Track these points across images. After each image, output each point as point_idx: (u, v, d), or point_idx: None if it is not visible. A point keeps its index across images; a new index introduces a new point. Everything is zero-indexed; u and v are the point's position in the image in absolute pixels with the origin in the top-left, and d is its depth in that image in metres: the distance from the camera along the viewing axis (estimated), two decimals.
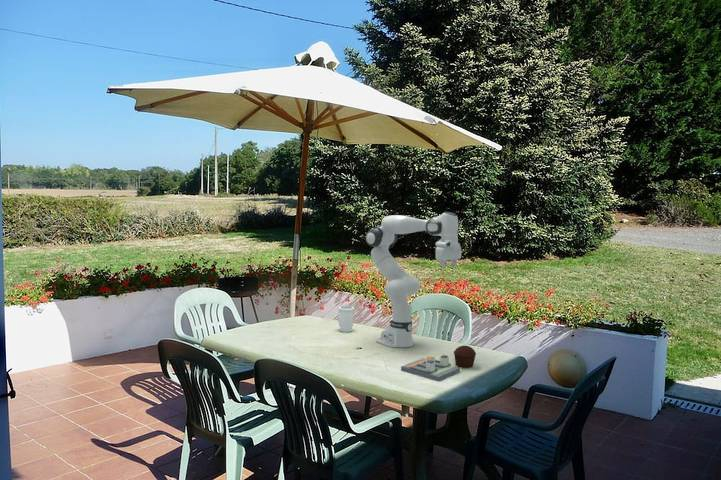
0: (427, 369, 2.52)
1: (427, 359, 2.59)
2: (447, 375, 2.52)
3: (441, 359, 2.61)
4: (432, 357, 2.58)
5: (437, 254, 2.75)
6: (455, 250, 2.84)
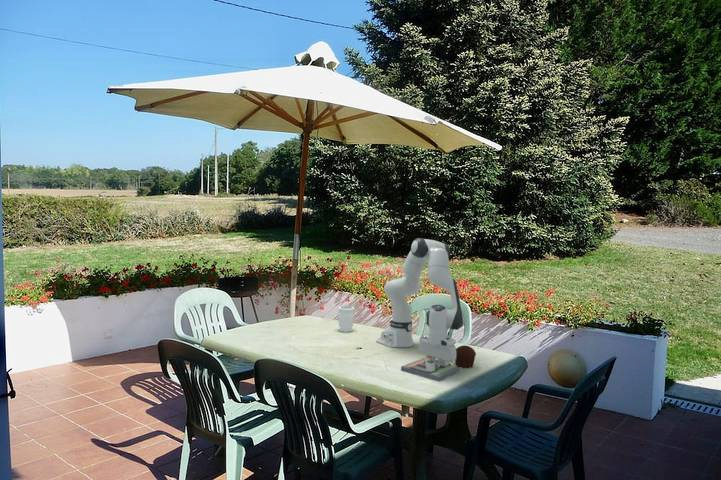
0: (427, 369, 2.52)
1: (426, 359, 2.59)
2: (447, 375, 2.52)
3: None
4: None
5: (453, 354, 2.50)
6: None
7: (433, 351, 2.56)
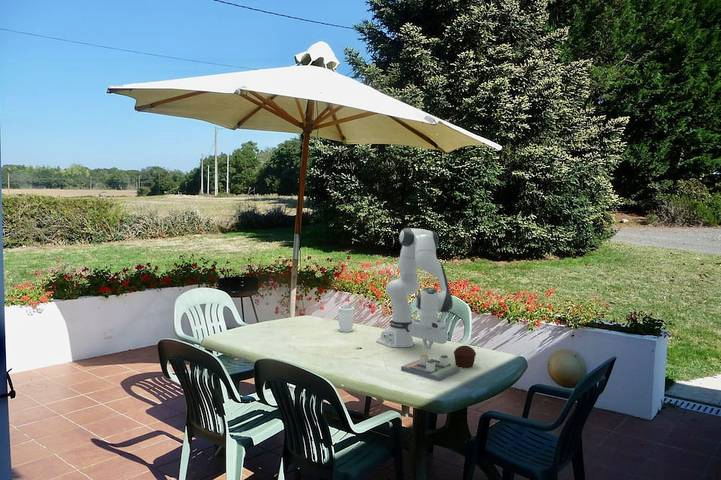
0: (427, 369, 2.52)
1: (420, 357, 2.62)
2: (447, 375, 2.52)
3: (441, 359, 2.61)
4: (425, 355, 2.61)
5: (444, 337, 2.52)
6: None
7: (424, 334, 2.59)
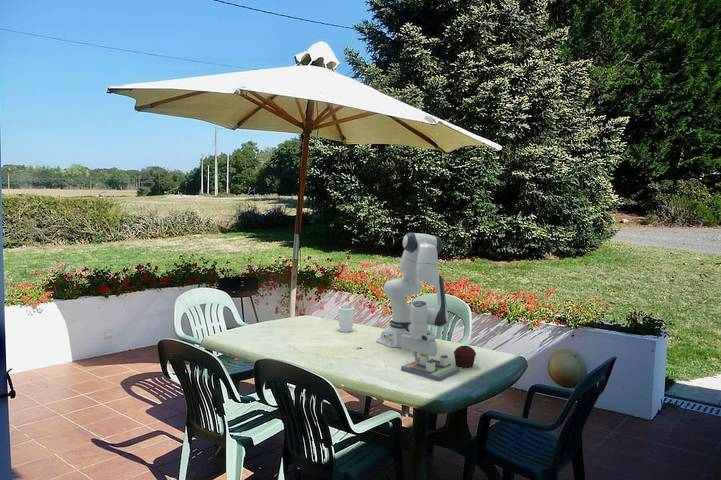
0: (427, 369, 2.52)
1: (421, 357, 2.62)
2: (447, 375, 2.52)
3: (441, 359, 2.61)
4: (426, 355, 2.61)
5: (434, 349, 2.57)
6: None
7: (415, 346, 2.63)
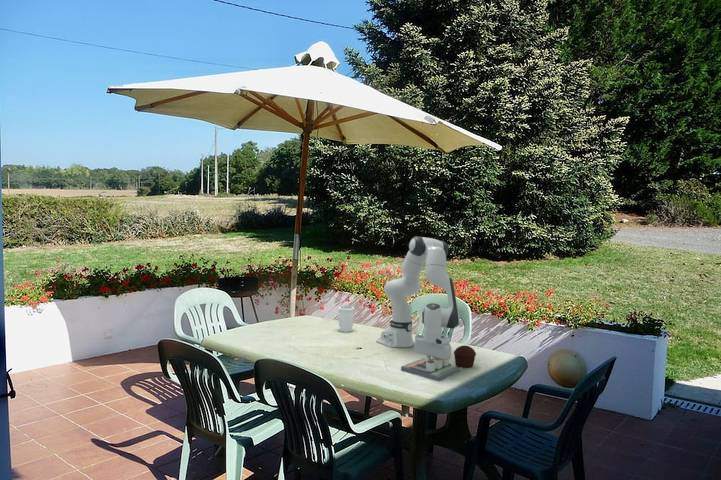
0: (427, 369, 2.52)
1: (434, 361, 2.56)
2: (447, 375, 2.52)
3: None
4: (439, 359, 2.56)
5: (448, 352, 2.52)
6: None
7: (428, 350, 2.58)
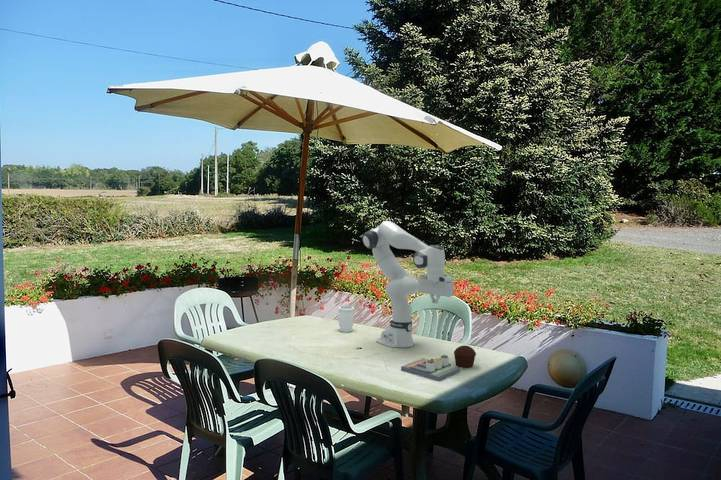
0: (427, 369, 2.52)
1: (434, 361, 2.56)
2: (447, 375, 2.52)
3: (441, 359, 2.61)
4: (439, 359, 2.56)
5: (451, 290, 2.65)
6: None
7: (432, 289, 2.71)
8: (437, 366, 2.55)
